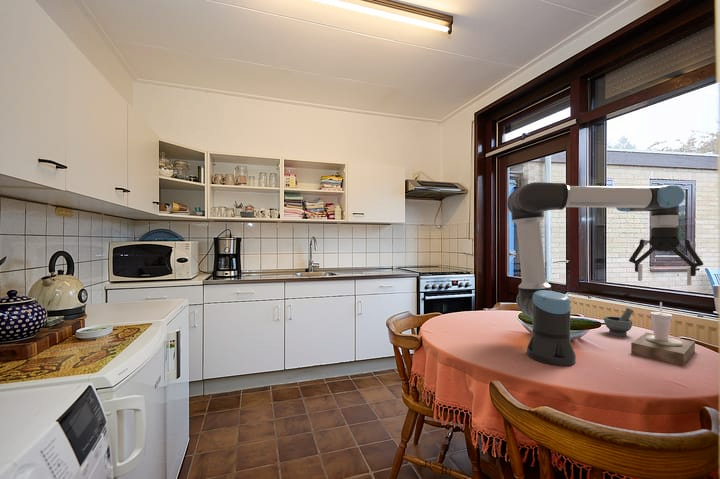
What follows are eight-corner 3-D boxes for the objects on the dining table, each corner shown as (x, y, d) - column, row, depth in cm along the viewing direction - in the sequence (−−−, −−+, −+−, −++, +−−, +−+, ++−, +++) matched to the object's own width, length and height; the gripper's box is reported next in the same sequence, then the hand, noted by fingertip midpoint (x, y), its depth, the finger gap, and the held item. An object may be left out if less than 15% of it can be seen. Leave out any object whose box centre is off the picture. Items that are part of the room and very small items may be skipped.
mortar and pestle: (613, 337, 138) (613, 309, 138) (599, 330, 147) (599, 305, 147) (641, 337, 137) (641, 310, 137) (624, 331, 146) (625, 305, 146)
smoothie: (669, 338, 121) (670, 302, 121) (675, 342, 116) (675, 305, 116) (647, 335, 125) (648, 300, 124) (651, 339, 119) (652, 303, 119)
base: (631, 353, 119) (631, 340, 119) (646, 341, 132) (646, 330, 132) (683, 365, 107) (684, 350, 107) (694, 351, 120) (694, 338, 120)
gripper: (715, 226, 111) (714, 286, 112) (625, 227, 132) (624, 278, 132) (712, 225, 107) (711, 287, 107) (620, 227, 127) (619, 279, 127)
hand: (663, 282), depth 119 cm, fingers open, 13 cm apart
